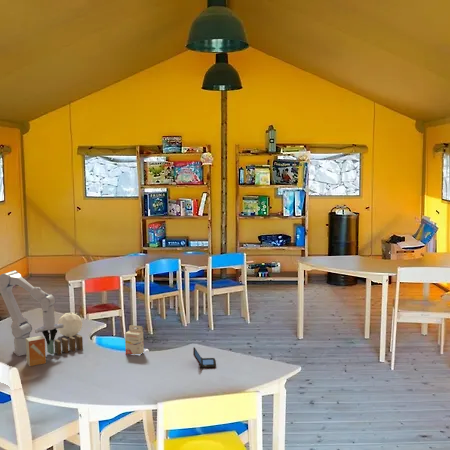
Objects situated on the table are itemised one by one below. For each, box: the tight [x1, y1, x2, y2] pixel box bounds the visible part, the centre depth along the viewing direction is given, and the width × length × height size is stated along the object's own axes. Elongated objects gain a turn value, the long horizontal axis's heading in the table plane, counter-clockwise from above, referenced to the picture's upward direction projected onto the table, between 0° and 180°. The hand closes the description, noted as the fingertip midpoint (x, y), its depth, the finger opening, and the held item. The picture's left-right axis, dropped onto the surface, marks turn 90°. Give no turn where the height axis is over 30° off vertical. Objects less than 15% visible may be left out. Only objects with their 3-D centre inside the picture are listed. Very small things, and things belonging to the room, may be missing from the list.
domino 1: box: [46, 337, 55, 355], centre depth 297 cm, size 2×5×7 cm, turn 38°
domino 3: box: [61, 337, 70, 354], centre depth 302 cm, size 2×5×7 cm, turn 37°
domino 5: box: [75, 334, 84, 351], centre depth 306 cm, size 2×5×7 cm, turn 37°
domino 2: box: [53, 338, 62, 356], centre depth 299 cm, size 2×5×7 cm, turn 37°
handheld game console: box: [192, 346, 217, 369], centre depth 280 cm, size 12×11×7 cm
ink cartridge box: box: [124, 324, 145, 355], centre depth 296 cm, size 9×5×15 cm, turn 71°
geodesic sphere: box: [57, 311, 83, 338], centre depth 329 cm, size 15×14×14 cm
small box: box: [25, 335, 47, 367], centre depth 285 cm, size 8×6×13 cm
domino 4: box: [68, 336, 77, 353], centre depth 304 cm, size 2×5×7 cm, turn 37°
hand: (50, 343), depth 296 cm, fingers closed on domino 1, 1 cm apart
